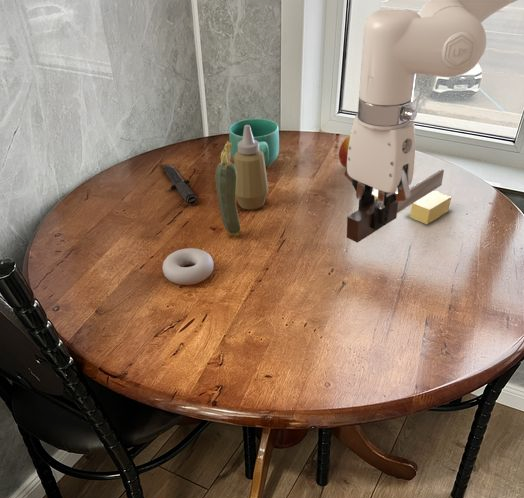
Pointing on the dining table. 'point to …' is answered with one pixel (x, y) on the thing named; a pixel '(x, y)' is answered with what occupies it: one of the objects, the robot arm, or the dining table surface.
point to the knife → (181, 185)
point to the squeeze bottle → (250, 172)
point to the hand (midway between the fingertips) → (372, 222)
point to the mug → (257, 137)
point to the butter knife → (363, 218)
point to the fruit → (344, 151)
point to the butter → (430, 207)
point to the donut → (188, 275)
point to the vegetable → (227, 191)
